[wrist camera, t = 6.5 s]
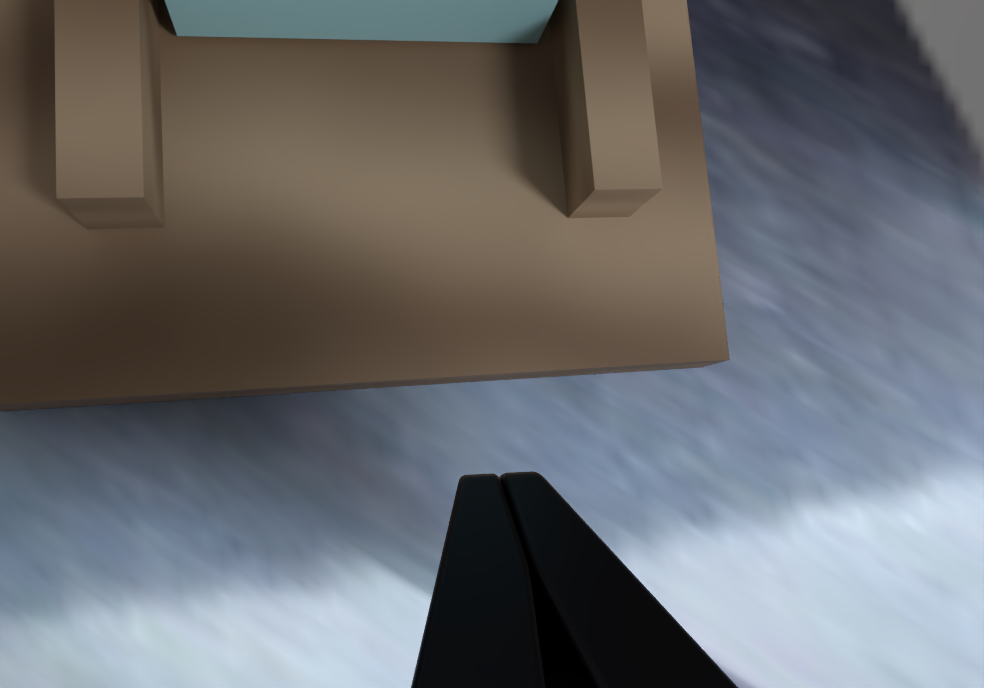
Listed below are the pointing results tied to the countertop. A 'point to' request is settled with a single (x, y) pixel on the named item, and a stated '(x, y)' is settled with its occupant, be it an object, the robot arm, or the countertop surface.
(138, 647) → the countertop surface
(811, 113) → the countertop surface
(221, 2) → the paddle button
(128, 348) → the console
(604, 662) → the robot arm
